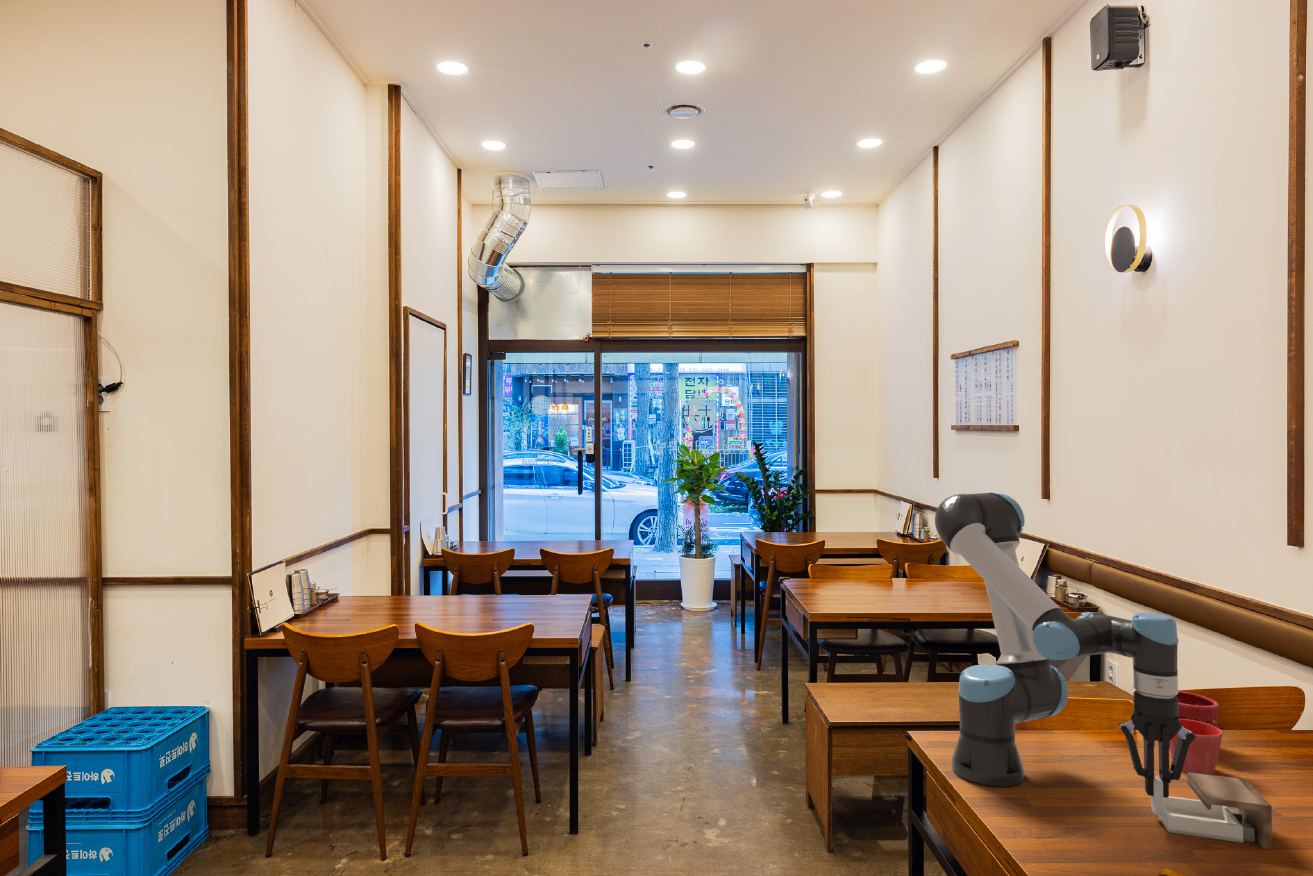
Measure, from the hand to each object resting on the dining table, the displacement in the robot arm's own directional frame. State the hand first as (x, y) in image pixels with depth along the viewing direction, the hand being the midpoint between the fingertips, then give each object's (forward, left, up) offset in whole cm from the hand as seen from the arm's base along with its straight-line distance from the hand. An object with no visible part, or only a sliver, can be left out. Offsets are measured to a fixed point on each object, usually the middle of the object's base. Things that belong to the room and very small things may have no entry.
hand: (1157, 812), depth 151 cm
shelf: (+12, 0, -2) cm, 12 cm away
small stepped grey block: (+14, 0, -2) cm, 14 cm away
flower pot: (+15, +31, -2) cm, 34 cm away
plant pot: (+18, +47, -2) cm, 50 cm away
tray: (+7, 0, -2) cm, 7 cm away
